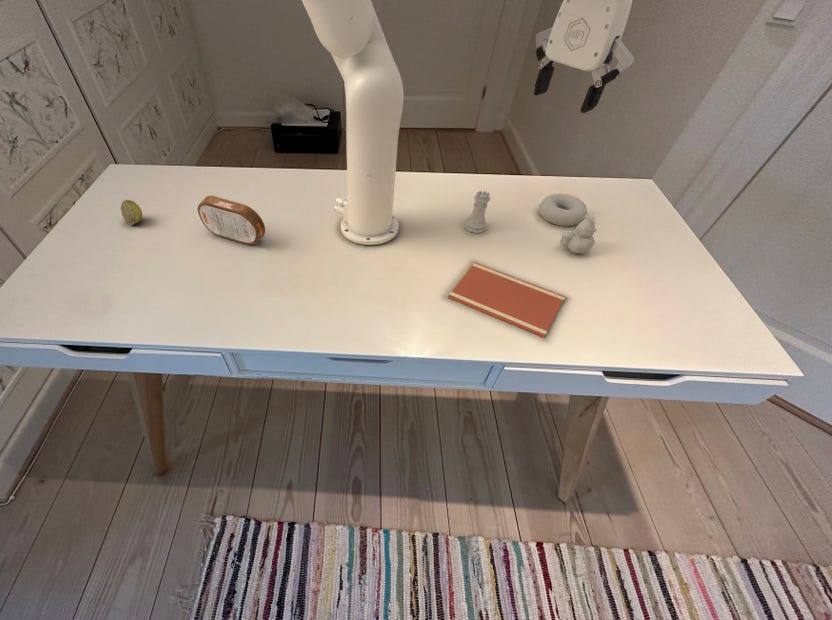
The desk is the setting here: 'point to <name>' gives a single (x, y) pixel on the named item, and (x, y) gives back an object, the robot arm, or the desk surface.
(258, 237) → the tin
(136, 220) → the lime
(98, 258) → the desk surface
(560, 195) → the donut
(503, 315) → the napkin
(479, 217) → the rook chess piece
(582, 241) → the grey lumpy figurine
